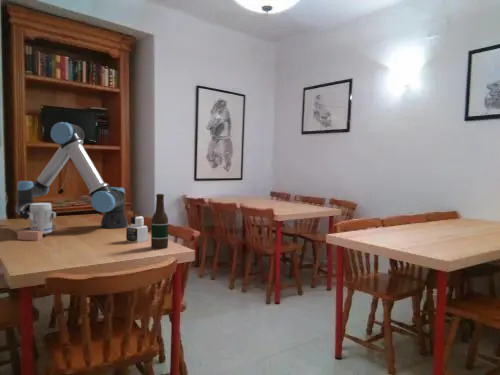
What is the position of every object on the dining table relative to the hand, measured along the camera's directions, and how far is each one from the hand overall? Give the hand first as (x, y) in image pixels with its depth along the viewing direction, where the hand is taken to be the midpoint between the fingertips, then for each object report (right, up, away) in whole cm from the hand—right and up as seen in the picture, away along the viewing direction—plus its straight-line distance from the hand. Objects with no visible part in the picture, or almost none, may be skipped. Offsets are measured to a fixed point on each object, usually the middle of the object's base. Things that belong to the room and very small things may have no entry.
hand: (43, 215), depth 180 cm
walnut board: (-11, -10, +14) cm, 20 cm away
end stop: (-5, -11, -4) cm, 12 cm away
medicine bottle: (+46, -12, -2) cm, 48 cm away
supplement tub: (-3, -9, +4) cm, 10 cm away
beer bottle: (+60, -13, -15) cm, 64 cm away
